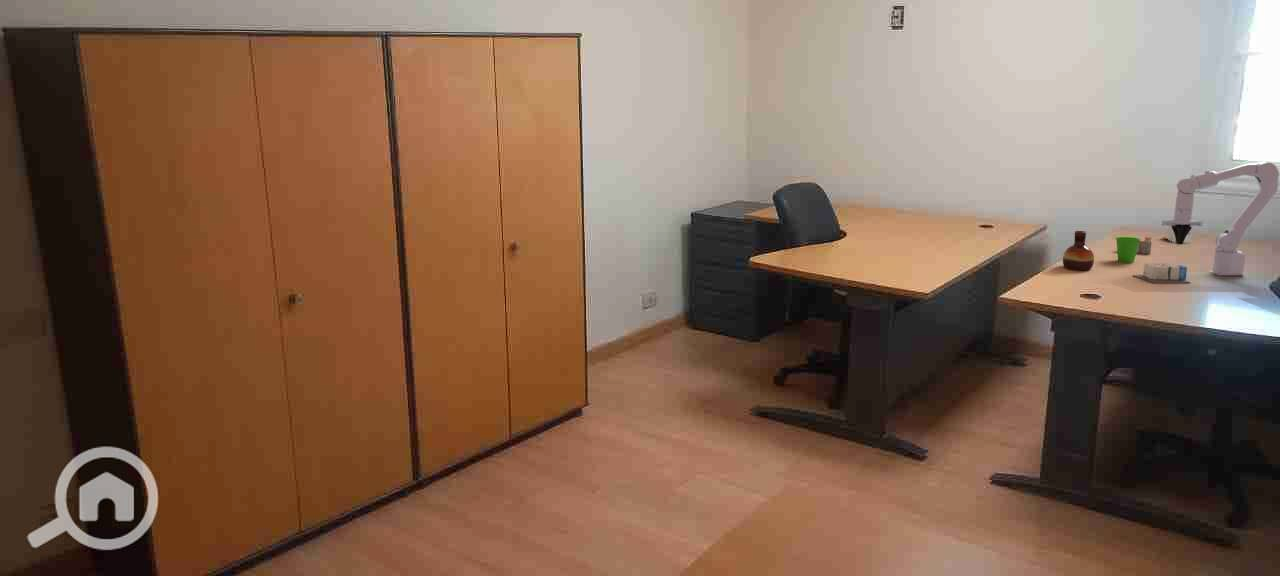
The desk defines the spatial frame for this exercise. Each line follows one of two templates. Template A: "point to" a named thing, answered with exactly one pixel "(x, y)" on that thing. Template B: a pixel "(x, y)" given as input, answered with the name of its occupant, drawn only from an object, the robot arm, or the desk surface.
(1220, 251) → the robot arm
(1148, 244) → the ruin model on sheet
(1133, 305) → the desk surface
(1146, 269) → the ink box
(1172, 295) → the desk surface
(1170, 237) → the supplement box
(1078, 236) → the vase
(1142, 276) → the mat
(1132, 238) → the cup
